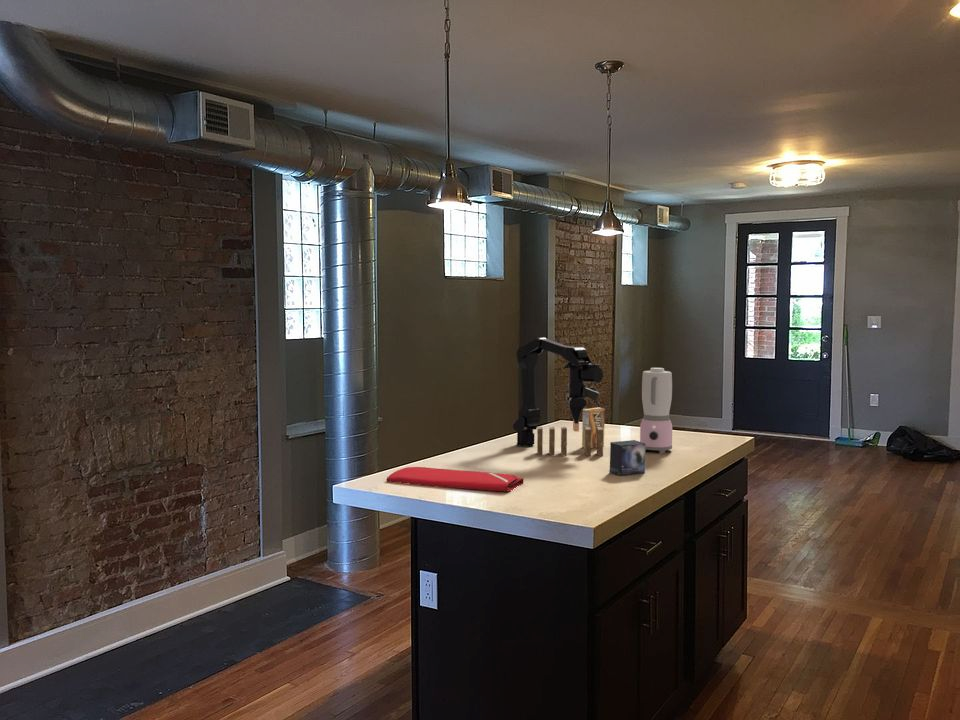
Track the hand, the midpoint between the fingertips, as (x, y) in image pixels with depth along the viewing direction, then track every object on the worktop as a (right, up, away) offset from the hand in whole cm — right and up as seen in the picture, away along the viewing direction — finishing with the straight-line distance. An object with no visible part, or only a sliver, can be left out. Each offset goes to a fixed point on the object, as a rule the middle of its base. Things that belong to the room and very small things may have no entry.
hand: (575, 422), depth 297 cm
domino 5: (+5, -12, +1) cm, 13 cm away
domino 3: (-4, -12, +1) cm, 13 cm away
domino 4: (0, -3, 0) cm, 3 cm away
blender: (+31, -12, +7) cm, 34 cm away
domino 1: (-13, -12, +2) cm, 18 cm away
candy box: (+9, -11, +16) cm, 22 cm away
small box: (+13, -15, -32) cm, 37 cm away
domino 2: (-9, -12, +1) cm, 15 cm away
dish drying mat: (-44, -16, -47) cm, 66 cm away
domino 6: (+9, -12, 0) cm, 15 cm away
